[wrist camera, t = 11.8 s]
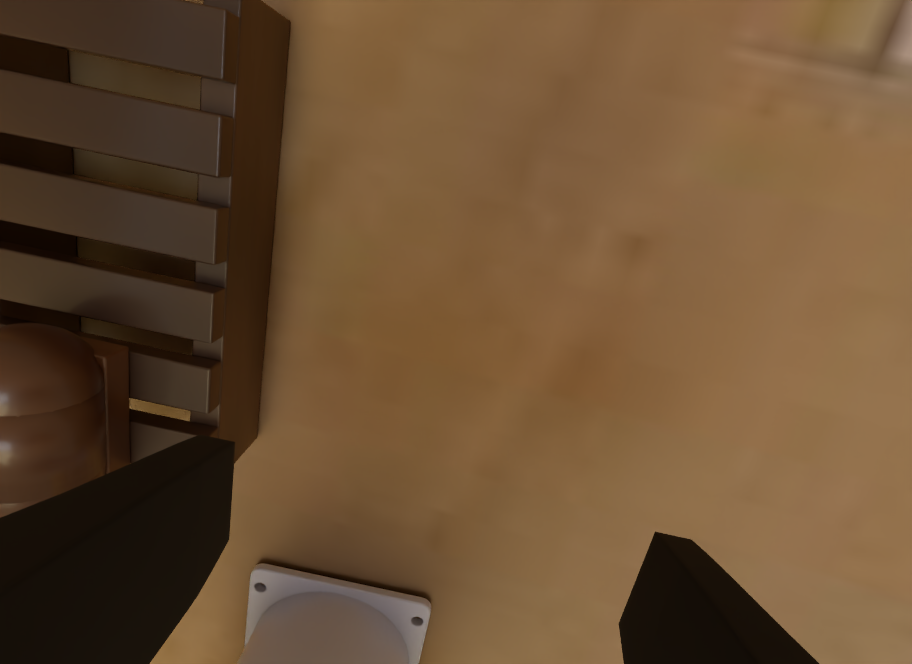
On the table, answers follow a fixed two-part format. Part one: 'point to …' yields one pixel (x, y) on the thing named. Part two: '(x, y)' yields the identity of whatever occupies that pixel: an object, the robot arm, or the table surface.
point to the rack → (148, 195)
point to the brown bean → (59, 412)
